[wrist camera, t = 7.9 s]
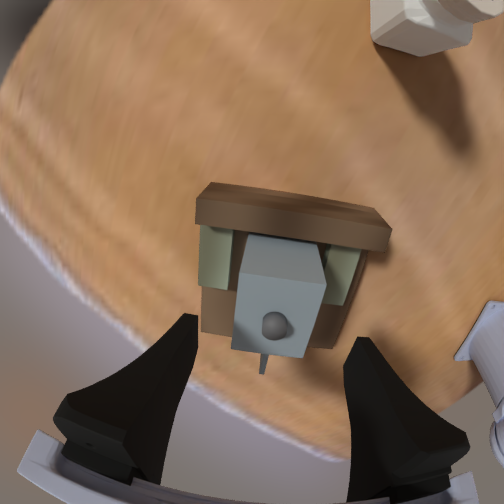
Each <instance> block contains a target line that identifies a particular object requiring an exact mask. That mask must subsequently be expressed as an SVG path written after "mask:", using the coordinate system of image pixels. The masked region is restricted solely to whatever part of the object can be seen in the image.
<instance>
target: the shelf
mask: <svg viewBox="0 0 504 504" xmlns="http://www.w3.org/2000/svg"><path fill="white" fill-rule="evenodd" d="M195 224H199V225H200V244H199V273H198V285H199V286H202V302H201V332H205V333H210V334H216V335H222V336H228V337H232V334H233V325H234V316H235V307H236V298H237V289H238V280H239V272H240V268H241V264H242V259H243V255H244V251H245V247H246V243H247V239H248V235H249V232H256V233H263V234H269V235H276V236H283V237H290V238H296V239H303V240H309V241H316V243H317V247H318V251H319V255H320V259H321V263H322V267H323V271H324V276H325V280H326V284H327V285H326V289H325V292H324V295H323V299H322V302H321V305H320V308H319V311H318V314H317V317H316V321H315V324H314V327H313V330H312V333H311V335H310V338H309V341H308V344H307V347H314V348H325V349H332V348H333V346H334V343H335V341H336V339H337V336H338V334H339V331H340V329H341V326H342V324H343V321H344V319H345V316H346V314H347V311H348V308H349V306H350V303H351V300H352V298H353V295H354V292H355V289H356V287H357V284H358V281H359V278H360V275H361V272H362V269H363V266H364V263H365V260H366V257H367V254H368V251H369V250H371V251H377V252H383V253H385V251H386V248H387V245H388V242H389V238H390V235H391V232H392V228H391V227H390V226H389V225H388V224H387V223H386V221H385V220H384V219H383V218H382V217H381V216H380V215H379V213H378V212H377V211H376V210H375V209H374V208H371V207H366V206H361V205H356V204H351V203H346V202H340V201H335V200H329V199H324V198H318V197H312V196H307V195H301V194H294V193H288V192H282V191H275V190H268V189H261V188H254V187H247V186H239V185H231V184H223V183H215V182H211V183H210V184H209V185H208V186H207V187H206V188H205V189H204V191H203V192H202V193H201V194H200V195H199V196H198V197H197V198H196V216H195Z"/></svg>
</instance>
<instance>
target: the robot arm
mask: <svg viewBox="0 0 504 504" xmlns="http://www.w3.org/2000/svg"><path fill="white" fill-rule="evenodd" d="M197 350H198V315H192V314H187V313H184V314H183V315H182V316H181V317H180V318H179V319H178V320H177V321H176V323H175V324H174V325H173V326H172V327H171V328H170V329H169V330H168V331H167V332H166V333H165V334H164V335H163V336H162V337H161V338H160V339H159V340H158V341H157V342H156V343H155V344H154V345H152V346H151V347H150V348H149V349H148V350H147V351H145V352H144V353H143V354H142V355H141V356H139V357H138V358H137V359H135V360H134V361H133V362H131V363H130V364H128V365H127V366H126V367H124V368H122V369H121V370H119V371H118V372H116V373H115V374H113V375H111V376H109V377H107V378H105V379H103V380H101V381H99V382H97V383H95V384H93V385H91V386H89V387H86V388H83V389H81V390H78V391H75V392H72V393H69V394H67V396H66V397H65V398H64V400H63V401H62V402H61V404H60V406H59V408H58V409H57V411H56V413H55V415H54V417H53V421H54V423H55V425H56V426H57V428H58V429H59V430H60V431H61V433H62V434H63V435H64V436H65V437H66V438H67V441H66V443H65V445H64V444H63V443H62V442H60V441H59V440H57V439H55V438H54V437H52V436H50V435H48V434H47V433H45V432H43V431H41V430H37V432H36V434H35V435H34V437H33V439H32V441H31V443H30V445H29V447H28V449H27V451H26V453H25V455H24V457H23V459H22V461H21V463H20V465H19V467H18V469H17V472H18V473H19V474H21V475H22V476H24V477H25V478H26V479H28V480H29V481H31V482H32V483H34V484H35V485H37V486H38V487H40V488H41V489H43V490H45V491H46V492H48V493H50V494H51V495H53V496H55V497H57V498H59V499H60V500H62V501H64V502H66V503H67V504H265V503H252V502H243V501H235V500H227V499H221V498H215V497H209V496H203V495H198V494H193V493H188V492H184V491H180V490H176V489H172V488H168V487H164V486H161V485H160V483H161V477H162V472H163V466H164V461H165V456H166V451H167V447H168V442H169V438H170V433H171V429H172V425H173V422H174V418H175V413H176V410H177V407H178V404H179V402H180V399H181V396H182V394H183V392H184V389H185V386H186V384H187V381H188V379H189V376H190V374H191V371H192V368H193V365H194V362H195V358H196V354H197ZM454 359H455V361H464V360H473V361H474V363H475V365H476V367H477V369H478V371H479V373H480V375H481V377H482V379H483V381H484V383H485V384H486V387H487V389H488V391H489V393H490V396H491V398H492V400H493V402H494V404H495V406H496V410H495V411H494V412H493V413H492V415H493V418H494V420H495V421H494V422H493V423H492V425H491V429H490V446H491V449H492V452H493V454H494V456H495V458H496V459H497V461H498V462H499V463H500V464H501V465H502V467H503V468H504V302H500V301H489V302H487V304H486V305H485V307H484V309H483V311H482V313H481V315H480V316H479V318H478V320H477V322H476V323H475V325H474V327H473V328H472V330H471V332H470V333H469V335H468V336H467V338H466V340H465V341H464V343H463V344H462V346H461V347H460V349H459V350H458V352H457V353H456V355H455V356H454ZM343 372H344V388H345V394H346V400H347V406H348V412H349V419H350V426H351V469H350V482H349V488H348V496H347V501H346V503H335V504H479V501H478V496H477V491H476V487H475V482H474V479H473V474H472V471H468V472H465V473H463V474H460V475H457V476H454V477H452V478H450V479H449V475H448V474H450V473H451V471H452V470H451V465H453V464H454V463H455V462H457V461H458V460H459V459H461V458H462V457H463V456H464V455H466V454H467V452H468V451H469V449H470V445H469V442H468V438H467V435H466V432H464V431H462V430H460V429H459V428H457V427H455V426H454V425H452V424H450V423H449V422H447V421H446V420H444V419H443V418H441V417H440V416H439V415H437V414H436V413H435V412H433V411H432V410H431V409H430V408H429V407H427V406H426V405H425V404H424V403H423V402H422V401H421V400H420V399H419V398H418V397H417V396H416V395H415V394H414V393H413V392H412V391H411V390H410V389H409V388H408V387H407V386H406V385H405V384H404V382H403V381H402V380H401V379H400V378H399V376H398V375H397V374H396V373H395V371H394V370H393V369H392V368H391V366H390V365H389V364H388V362H387V361H386V360H385V358H384V357H383V355H382V354H381V353H380V351H379V350H378V349H377V347H376V346H375V344H374V343H373V342H372V340H371V339H370V338H369V337H357V338H356V341H355V343H354V345H353V347H352V349H351V351H350V353H349V355H348V357H347V359H346V361H345V363H344V365H343Z"/></svg>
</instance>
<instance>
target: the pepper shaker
mask: <svg viewBox="0 0 504 504" xmlns="http://www.w3.org/2000/svg"><path fill="white" fill-rule="evenodd" d="M370 9H371V37H372V40H373V42H375V43H377V44H379V45H382V46H385V47H389V48H393V49H396V50H400V51H403V52H406V53H409V54H412V55H415V56H418V57H421V56H427V55H431V54H434V53H438V52H441V51H445V50H449V49H453V48H457V47H461V46H466V45H468V44H469V42H470V41H471V39H472V29H473V24H474V23H477V22H480V21H484V20H487V19H491V18H495V17H497V16H498V15H500V14H502V13H503V9H504V0H370Z"/></svg>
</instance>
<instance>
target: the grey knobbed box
mask: <svg viewBox="0 0 504 504" xmlns="http://www.w3.org/2000/svg"><path fill="white" fill-rule="evenodd" d="M326 285H327V284H326V280H325V276H324V271H323V267H322V263H321V259H320V255H319V251H318V247H317V243H316V241H309V240H303V239H296V238H290V237H283V236H276V235H269V234H263V233H256V232H249V235H248V239H247V243H246V247H245V251H244V255H243V259H242V264H241V268H240V272H239V280H238V289H237V298H236V307H235V316H234V325H233V334H232V343H231V349H234V350H241V351H248V352H255V353H261V358H260V369H259V374H264V372H265V368H266V364H267V360H268V356H269V354H270V355H278V356H287V357H296V358H303V356H304V353H305V350H306V347H307V344H308V341H309V338H310V335H311V333H312V330H313V327H314V324H315V321H316V317H317V314H318V311H319V308H320V305H321V302H322V299H323V295H324V292H325V289H326Z"/></svg>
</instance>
